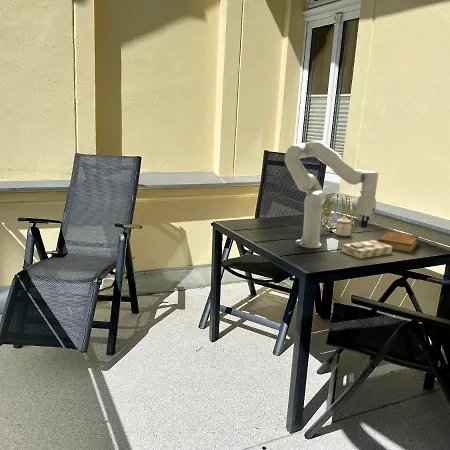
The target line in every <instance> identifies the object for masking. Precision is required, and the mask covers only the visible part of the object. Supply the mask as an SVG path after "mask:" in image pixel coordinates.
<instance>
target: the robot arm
mask: <svg viewBox="0 0 450 450" xmlns="http://www.w3.org/2000/svg"><path fill="white" fill-rule="evenodd" d="M313 157H315V158H316V159H317V160H319V161H320V162H321V163H323V164H324V165H326V166H327V167H328V168H329V169H331V171H333V172H334V174H336V175H337V176H338V177H339V178H341V180H344V181H345V182H346V183H348V184H349V185H353V186H355V185H358V184H360V183H361V189H360V191H359V192H360V195H359V196H358V199H357V202H356V208H355V213H356V214H357V215H358V217H359V218H360V228H362V229H366V228H368V223H369V221H370V219H371V220H372V219H374V218H375V217H374V216H375V215H376V208H377V197H376V194H377V192H376V191H377V185H378V179H379V178H378V177H379V173H378V172H377V171H373V170H363V169H357V168H355V169H354V168H353V167H351V166H350V165H348V164H347V163H346V162H345V161H344V160H343V158H342V156H341V155H340V154H339V153H338V152H336V151H335V150H333V149H332V148H331V147H329V146H328V144H327V142H326V141H324V140H315V141H310V142H302V143H301V142H300V143H294V144H292V145H290V146H289V147H288V148H287V150H286V152H285V155H284V163H285V166H286V168H287V170H288V172H289V173H290V175H291V178H292V179H293V181H294V182H295V185H296V186H297V188H298V190H299V191H301V192H305V193H306V196H305V198H304V202H303V203H304V204H303V206H304V212H303V213H304V215H303V216H304V217H303V230H302V237H300V239H296V240H295V244H299V246H301V247H303V248H307V249H319V248H322V243H321V242H320V237H321V235H320V234H321V224H322V205H323V204H324V203H325V202H326V199H327V197H326V196H327V195H326V193H325V191H324V189H323V188H322V186H321V184H320V181H319V180H318V179H317V177H316V176H315V175H314V174H311V173H309V172H308V171H307V169H306V168H305V165H304V164H303V163H302V162H301V159H304V158H305V159H306V158H313Z"/></svg>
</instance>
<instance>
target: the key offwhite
mask: <svg viewBox="0 0 450 450" xmlns="http://www.w3.org/2000/svg"><path fill="white" fill-rule="evenodd" d="M361 245H363V246H365V247H373V246H374V244H372V243H369V242H364V243H361Z"/></svg>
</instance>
